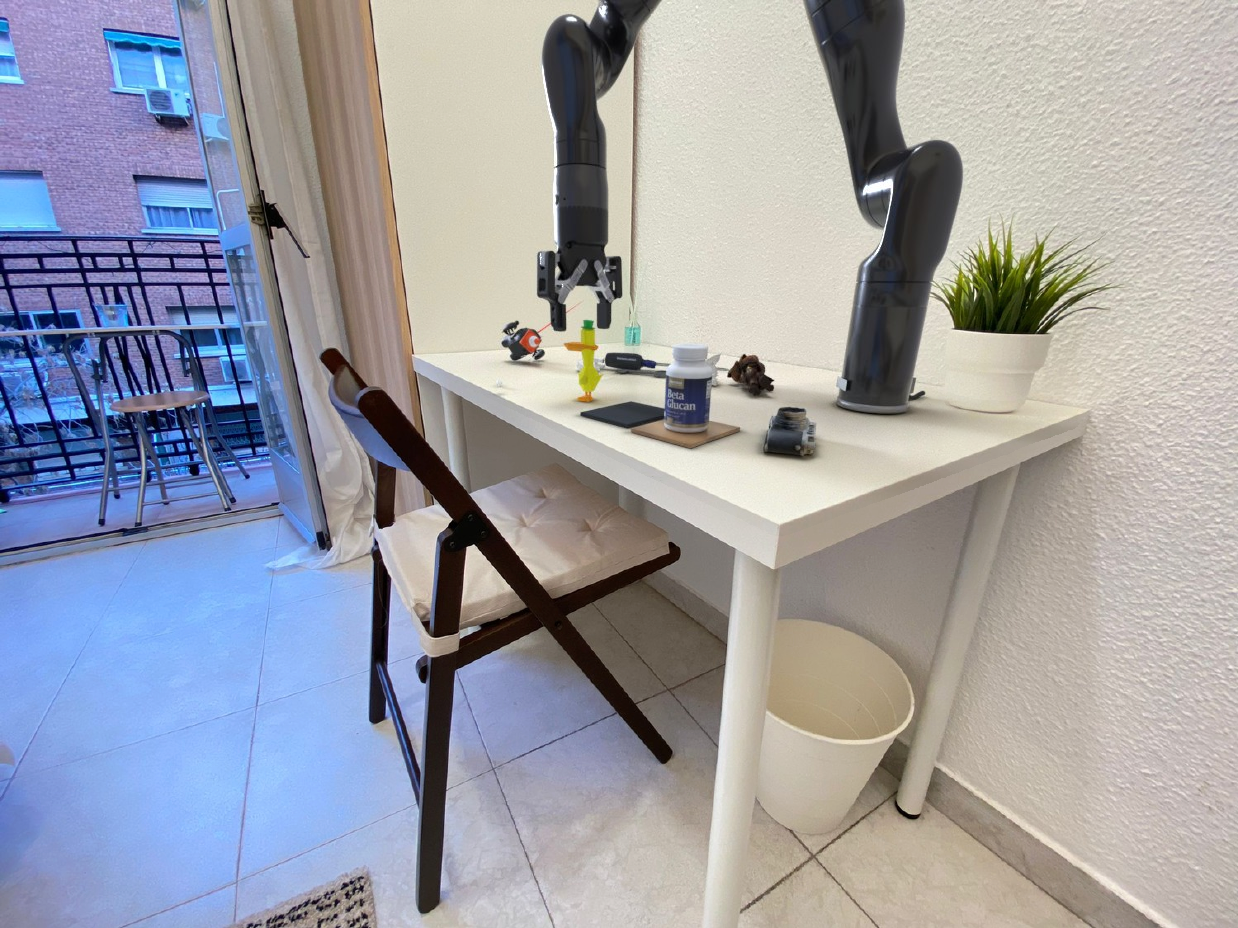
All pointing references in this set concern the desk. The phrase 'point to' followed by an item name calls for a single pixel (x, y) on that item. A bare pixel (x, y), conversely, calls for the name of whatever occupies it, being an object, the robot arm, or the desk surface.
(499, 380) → the sphere
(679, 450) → the desk surface
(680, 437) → the copper plate
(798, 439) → the camera
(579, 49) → the robot arm
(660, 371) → the key
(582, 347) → the toy figure
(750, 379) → the figurine
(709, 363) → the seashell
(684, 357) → the pill bottle
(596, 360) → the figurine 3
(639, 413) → the rubber mat
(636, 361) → the screwdriver
